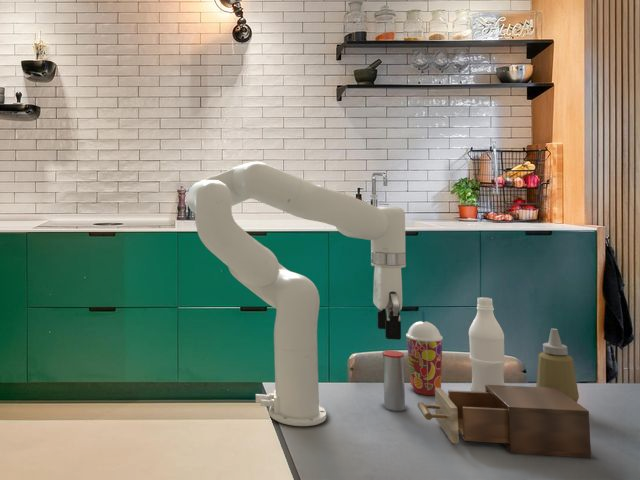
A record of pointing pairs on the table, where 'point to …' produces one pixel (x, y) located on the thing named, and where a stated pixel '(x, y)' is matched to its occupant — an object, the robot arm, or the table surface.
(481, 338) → the water bottle
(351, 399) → the table surface
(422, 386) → the smoothie
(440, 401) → the drawer
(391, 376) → the spice tin
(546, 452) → the cabinet
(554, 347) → the squeeze bottle
